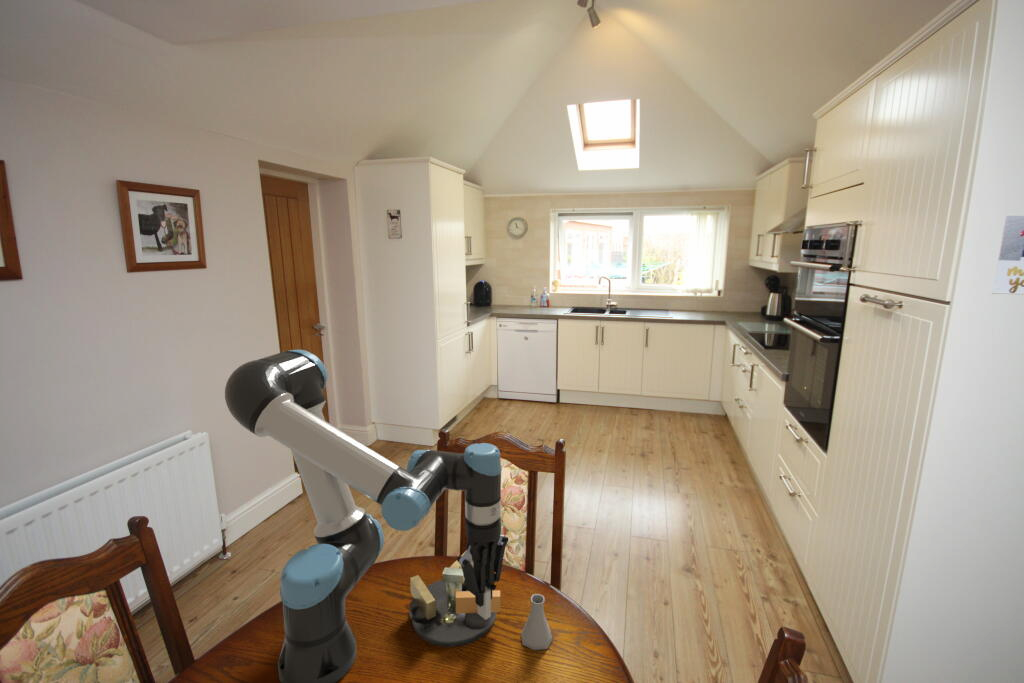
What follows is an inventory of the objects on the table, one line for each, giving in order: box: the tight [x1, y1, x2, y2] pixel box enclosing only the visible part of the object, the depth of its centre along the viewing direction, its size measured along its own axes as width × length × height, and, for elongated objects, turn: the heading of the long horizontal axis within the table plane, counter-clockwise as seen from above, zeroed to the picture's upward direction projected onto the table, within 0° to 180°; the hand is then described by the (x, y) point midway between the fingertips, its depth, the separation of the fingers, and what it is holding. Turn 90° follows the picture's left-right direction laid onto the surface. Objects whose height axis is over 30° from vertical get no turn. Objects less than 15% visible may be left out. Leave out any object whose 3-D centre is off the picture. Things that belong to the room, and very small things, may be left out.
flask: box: [520, 593, 554, 651], centre depth 105 cm, size 7×7×10 cm
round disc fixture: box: [409, 549, 497, 648], centre depth 113 cm, size 20×22×11 cm
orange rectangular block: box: [456, 589, 501, 629], centre depth 108 cm, size 10×6×6 cm, turn 93°
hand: (484, 614), depth 104 cm, fingers closed
